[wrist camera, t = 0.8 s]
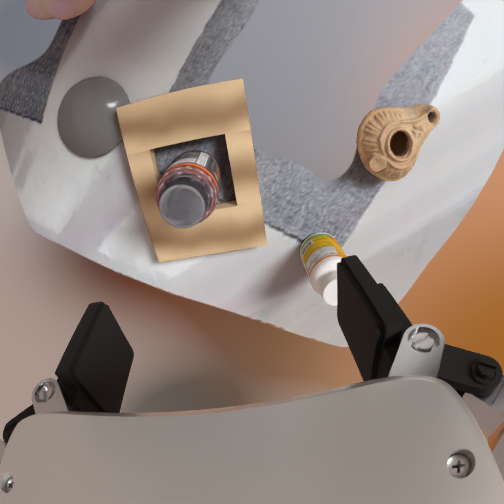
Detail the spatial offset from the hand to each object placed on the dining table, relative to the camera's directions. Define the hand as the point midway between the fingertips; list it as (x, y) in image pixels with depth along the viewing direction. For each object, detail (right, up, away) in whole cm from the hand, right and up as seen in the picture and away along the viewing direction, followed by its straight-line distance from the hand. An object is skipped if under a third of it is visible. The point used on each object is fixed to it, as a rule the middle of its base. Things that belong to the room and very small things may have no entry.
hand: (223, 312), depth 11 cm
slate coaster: (-18, +18, +18) cm, 31 cm away
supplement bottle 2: (+10, +3, +29) cm, 31 cm away
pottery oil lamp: (+19, +17, +21) cm, 33 cm away
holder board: (-5, +12, +23) cm, 26 cm away
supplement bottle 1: (-5, +12, +23) cm, 26 cm away
